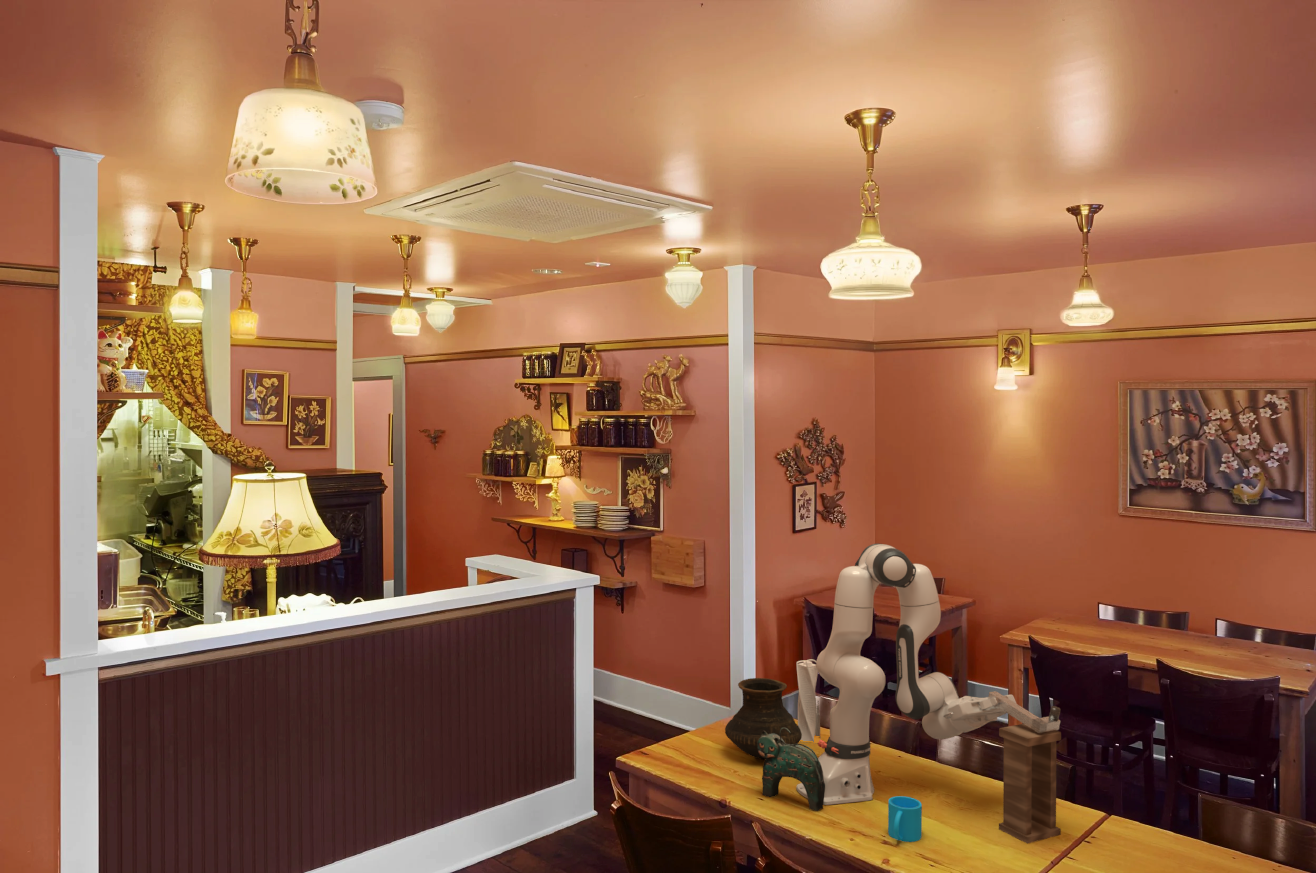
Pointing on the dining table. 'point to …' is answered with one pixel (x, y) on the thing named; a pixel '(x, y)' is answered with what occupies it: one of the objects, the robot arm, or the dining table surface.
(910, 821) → the mug
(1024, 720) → the crank handle
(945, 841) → the dining table surface
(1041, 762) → the shelf stand
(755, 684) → the ceramic pot
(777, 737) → the ceramic cat
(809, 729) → the skyscraper
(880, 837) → the dining table surface
